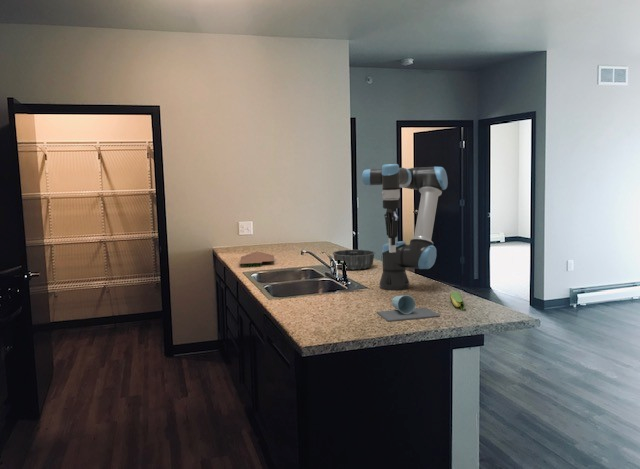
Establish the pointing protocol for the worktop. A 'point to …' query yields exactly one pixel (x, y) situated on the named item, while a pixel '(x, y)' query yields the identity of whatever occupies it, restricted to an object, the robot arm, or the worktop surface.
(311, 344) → the worktop surface
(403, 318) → the mat
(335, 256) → the bundt pan
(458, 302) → the edible corn
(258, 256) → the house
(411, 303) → the cup
